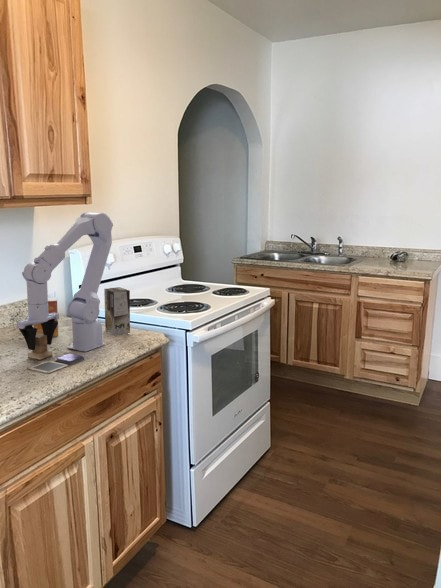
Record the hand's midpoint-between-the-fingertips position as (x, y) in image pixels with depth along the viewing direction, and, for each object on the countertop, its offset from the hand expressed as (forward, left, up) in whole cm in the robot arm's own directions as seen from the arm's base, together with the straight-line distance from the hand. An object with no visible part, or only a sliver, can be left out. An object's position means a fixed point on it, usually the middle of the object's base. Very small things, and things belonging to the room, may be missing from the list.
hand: (39, 346), depth 151 cm
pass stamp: (0, 0, -3) cm, 3 cm away
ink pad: (-2, +10, -3) cm, 11 cm away
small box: (-20, -18, -4) cm, 27 cm away
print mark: (+5, +9, -3) cm, 11 cm away
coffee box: (-36, +1, -4) cm, 36 cm away
